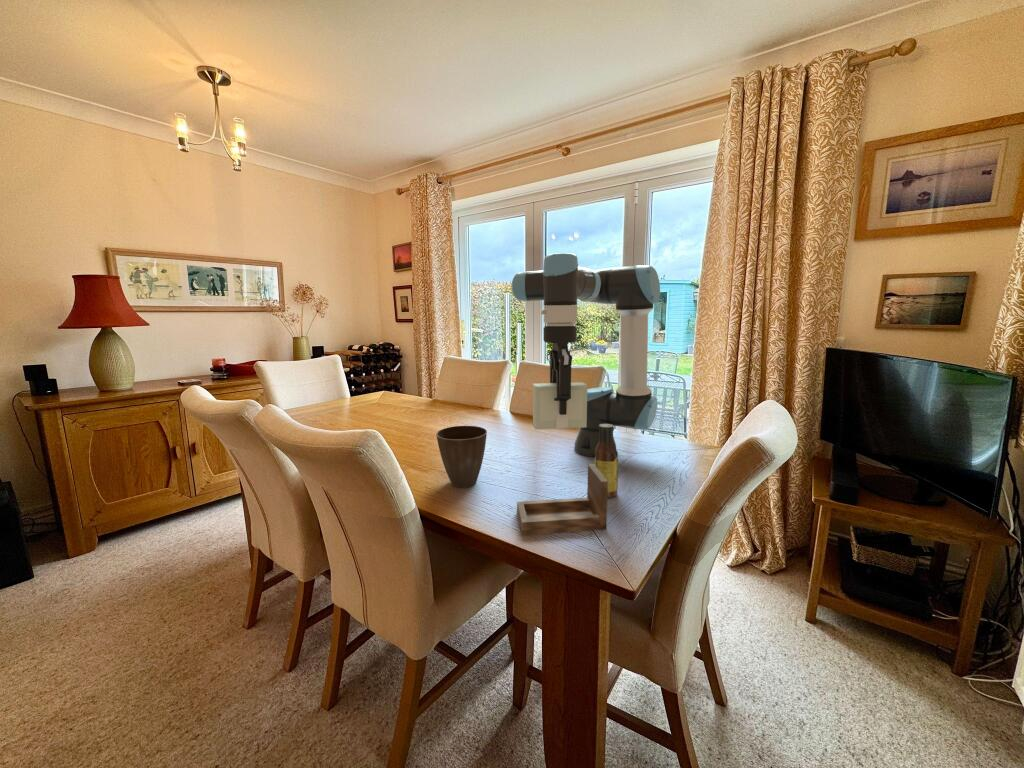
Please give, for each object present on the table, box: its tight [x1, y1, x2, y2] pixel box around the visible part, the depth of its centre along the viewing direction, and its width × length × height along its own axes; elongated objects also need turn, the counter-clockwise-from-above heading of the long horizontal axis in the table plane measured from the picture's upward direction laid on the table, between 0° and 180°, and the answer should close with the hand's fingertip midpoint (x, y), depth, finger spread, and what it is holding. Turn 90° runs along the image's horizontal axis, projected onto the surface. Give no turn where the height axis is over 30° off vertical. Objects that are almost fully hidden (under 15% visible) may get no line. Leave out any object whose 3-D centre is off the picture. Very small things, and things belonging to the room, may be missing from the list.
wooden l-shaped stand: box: [516, 463, 608, 536], centre depth 99 cm, size 20×11×12 cm, turn 96°
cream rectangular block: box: [532, 381, 588, 430], centre depth 95 cm, size 12×4×10 cm, turn 95°
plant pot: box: [436, 425, 488, 489], centre depth 122 cm, size 15×15×16 cm
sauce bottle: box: [594, 424, 619, 499], centre depth 113 cm, size 7×6×20 cm
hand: (559, 424), depth 96 cm, fingers closed on cream rectangular block, 4 cm apart
